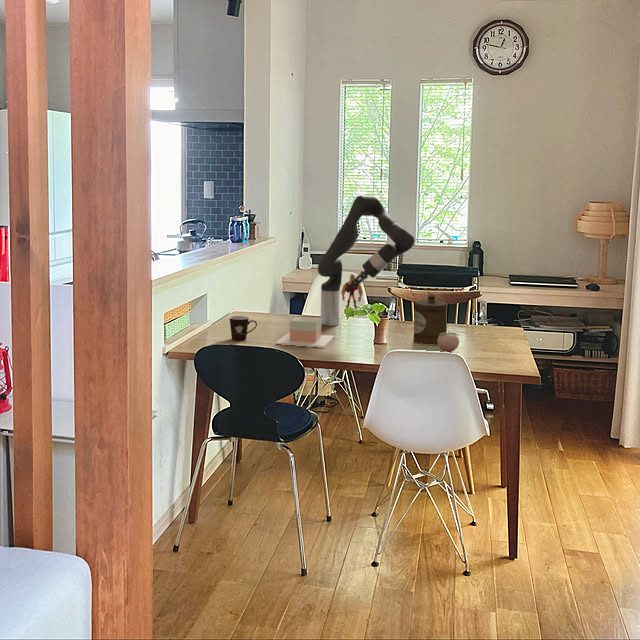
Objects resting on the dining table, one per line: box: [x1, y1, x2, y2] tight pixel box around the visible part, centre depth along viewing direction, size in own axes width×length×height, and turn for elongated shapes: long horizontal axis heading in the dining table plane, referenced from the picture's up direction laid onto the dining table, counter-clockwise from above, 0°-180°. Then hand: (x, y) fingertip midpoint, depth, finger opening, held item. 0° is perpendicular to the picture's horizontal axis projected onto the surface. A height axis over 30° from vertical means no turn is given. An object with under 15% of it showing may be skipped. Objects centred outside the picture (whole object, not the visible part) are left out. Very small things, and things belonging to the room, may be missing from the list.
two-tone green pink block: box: [275, 316, 335, 349], centre depth 363 cm, size 22×22×10 cm
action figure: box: [340, 273, 364, 309], centre depth 357 cm, size 10×4×15 cm, turn 82°
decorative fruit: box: [437, 330, 460, 353], centre depth 347 cm, size 9×8×10 cm
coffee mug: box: [229, 315, 258, 342], centre depth 364 cm, size 12×9×10 cm
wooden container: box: [413, 293, 448, 345], centre depth 368 cm, size 15×15×22 cm
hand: (347, 290), depth 358 cm, fingers closed on action figure, 3 cm apart
